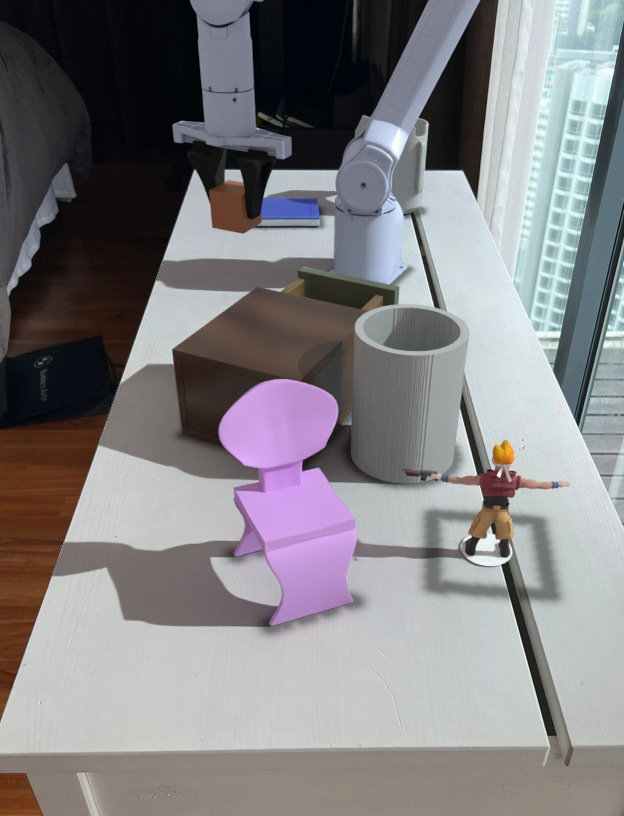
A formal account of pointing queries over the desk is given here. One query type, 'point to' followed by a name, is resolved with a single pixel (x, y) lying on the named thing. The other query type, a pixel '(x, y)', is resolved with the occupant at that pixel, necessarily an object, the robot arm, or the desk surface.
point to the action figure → (491, 506)
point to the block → (230, 208)
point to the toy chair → (291, 494)
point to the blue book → (290, 212)
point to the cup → (406, 390)
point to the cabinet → (263, 356)
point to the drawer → (343, 289)
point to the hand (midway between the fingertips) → (236, 213)
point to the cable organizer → (408, 166)
